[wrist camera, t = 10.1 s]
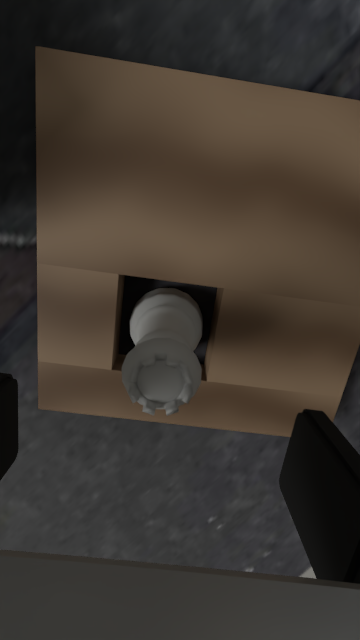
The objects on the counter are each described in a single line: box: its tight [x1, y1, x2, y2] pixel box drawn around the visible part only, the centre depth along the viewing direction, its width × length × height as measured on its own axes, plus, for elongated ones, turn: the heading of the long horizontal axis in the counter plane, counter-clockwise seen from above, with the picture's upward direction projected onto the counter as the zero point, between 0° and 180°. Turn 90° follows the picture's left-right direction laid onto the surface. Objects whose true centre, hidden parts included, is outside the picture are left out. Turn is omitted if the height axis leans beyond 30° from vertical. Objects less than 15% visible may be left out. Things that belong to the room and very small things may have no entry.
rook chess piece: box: [122, 288, 203, 416], centre depth 15 cm, size 4×4×8 cm
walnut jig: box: [35, 46, 360, 437], centre depth 17 cm, size 18×18×2 cm
